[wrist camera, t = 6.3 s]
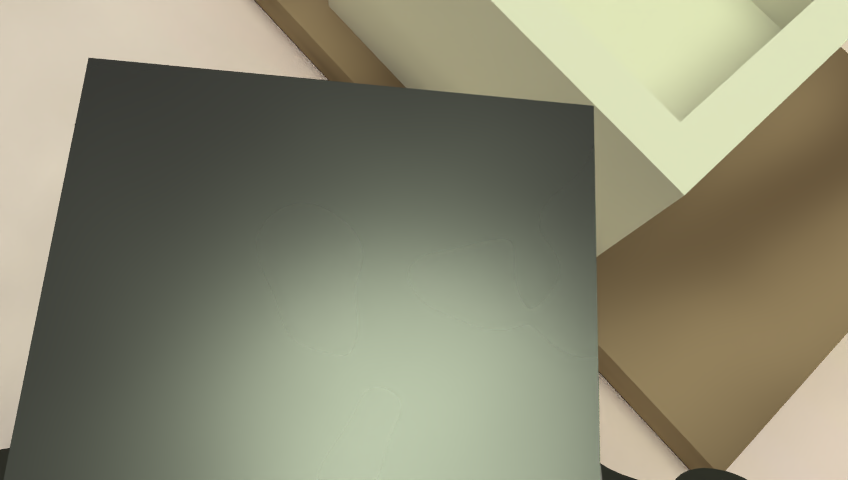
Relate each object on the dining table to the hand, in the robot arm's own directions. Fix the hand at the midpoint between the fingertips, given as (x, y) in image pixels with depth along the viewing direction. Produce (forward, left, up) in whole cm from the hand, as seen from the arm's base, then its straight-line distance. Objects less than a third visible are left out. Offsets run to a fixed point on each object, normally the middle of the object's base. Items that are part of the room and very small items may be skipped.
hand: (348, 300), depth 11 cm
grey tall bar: (+1, -1, -6) cm, 7 cm away
